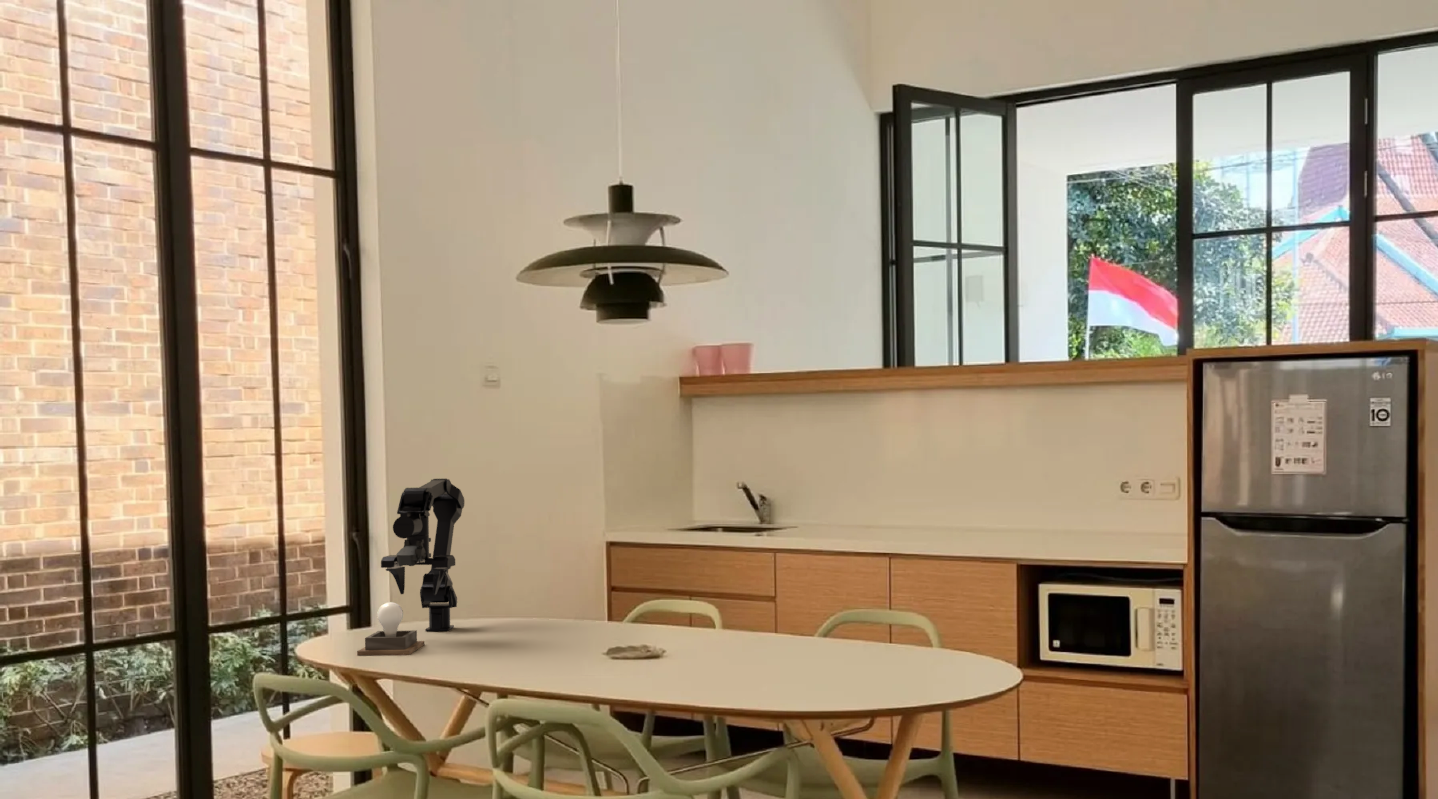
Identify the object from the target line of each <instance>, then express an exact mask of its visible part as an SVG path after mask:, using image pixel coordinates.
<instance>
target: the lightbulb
mask: <svg viewBox="0 0 1438 799" xmlns="http://www.w3.org/2000/svg"><path fill="white" fill-rule="evenodd" d="M376 617H377V620H378V623H379V624H380V626H381V627H382V631H384V633H385V636H386V637H396V633H397V631H399V630H398V629H399V626H400V624H401V622H402V620H403V618H404V610H403V608H402V606H401V605H400V604H399V603H397V602H394V601H387V602H385V603H383V604H381V606H379V608H378V610H377V613H376Z"/></svg>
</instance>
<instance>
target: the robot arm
mask: <svg viewBox="0 0 1438 799" xmlns="http://www.w3.org/2000/svg"><path fill="white" fill-rule="evenodd" d="M397 507H398V508H397V511H396V515H399V517H397V518H396V519H395V520H394V522H393V525H392V530H393V533H394V535H395V536H396V537H397V538H400V539H403V540H404V542H403V547H402V548H401V549H400V550H399V551H397V553H396V554H390V555H385V556H383V557H382V558H381V560H380V568H382V569H383V568H384V569H385V571H386V572H390V574H391V575H392V577H393V578H394V580H395V582H396V585H397V588H398V590H399V593H400V595H404V594H405V587H406V586H405V584H406V580H405V579H406V576H405V575H406V566H409V567H414V566H430V565H431V567H430V570H429V571H428V573H424V575H423V576H422V583H421V584H422V585H421V587H420V589H419V590H420V591H419V596H420V602H421V604H420V605H421V608H422V609H428V627H426V628H425V629H424V630H425V632H435V631H436V632H437V631H438V632H439V631H440V632H442V631H444V632H445V631H450V630H451V629H454V628H455V625H454V624H451V609H452V608H458V607H457V606H458V605H457V603H458V597H457V594H456V592H455V589H454V587H453V581H452V579H451V577H450V575H449V570H451V568H452V567H454V566H456V558H455V556H454V555H453V554H451V553H452V545H453V536H454V529H455V528H454V527H455V524H456V523H457V521H458V520H459V519H460V518H461V516H462V513H463V509H464V507H465V496H464V494H463V492H462V490H461V489H460V488H459V487H457V486H455V485H454V484H452V481H451V480H450V479H449V478H433V479H430V481H429V482H426V483H425V484H423V485H421V486H418V487H405V489H403V491H402V493H401V495H400V500H399V504H398V506H397ZM431 508H432V512H433V514H434V516H435V518H436V521H437V522H436V530H435V537H434V545H433V554H432V553H431V552H430V543H431V542H432V538H431V537H430V529H429V528H430V524H429V523H430V522H429V521H430V520H429V517H430V515H431V514H430V512H431Z"/></svg>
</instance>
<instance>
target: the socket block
mask: <svg viewBox="0 0 1438 799" xmlns="http://www.w3.org/2000/svg"><path fill="white" fill-rule="evenodd" d="M417 633H418V630H397V633H396V637H386V636H385V633H384V630H377V631H376V632H374V633H371V634H369V635H368V636H366V637H365V638H364V647H362V648H361V649H359V650H357V652H356V653H357V654H356V656H398V655H399V656H402V655H403V656H404V655H405V656H409V655H412V654H413V653H414V652H416V651H417V650H419V649H421V648H422V647H424V646H425V641H424V640H418V634H417Z"/></svg>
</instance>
